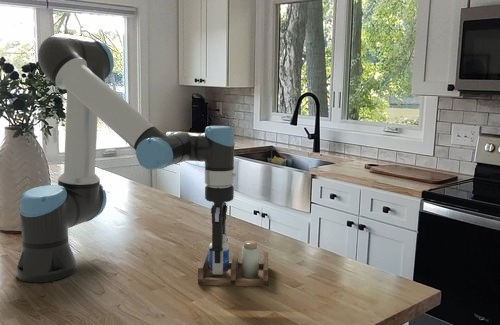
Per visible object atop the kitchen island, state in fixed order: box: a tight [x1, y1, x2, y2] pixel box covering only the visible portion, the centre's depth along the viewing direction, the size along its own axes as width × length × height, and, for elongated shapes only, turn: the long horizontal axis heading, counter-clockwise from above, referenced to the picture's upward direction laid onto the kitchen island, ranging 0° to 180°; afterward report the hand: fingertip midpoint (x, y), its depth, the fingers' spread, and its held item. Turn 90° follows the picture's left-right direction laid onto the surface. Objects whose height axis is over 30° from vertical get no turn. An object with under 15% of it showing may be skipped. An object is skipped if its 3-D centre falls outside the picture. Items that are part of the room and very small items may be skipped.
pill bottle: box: [208, 233, 230, 273], centre depth 130 cm, size 6×5×10 cm
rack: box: [197, 250, 269, 287], centre depth 130 cm, size 18×13×6 cm
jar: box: [241, 240, 260, 279], centre depth 130 cm, size 5×5×9 cm
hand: (218, 269), depth 131 cm, fingers closed on pill bottle, 5 cm apart
